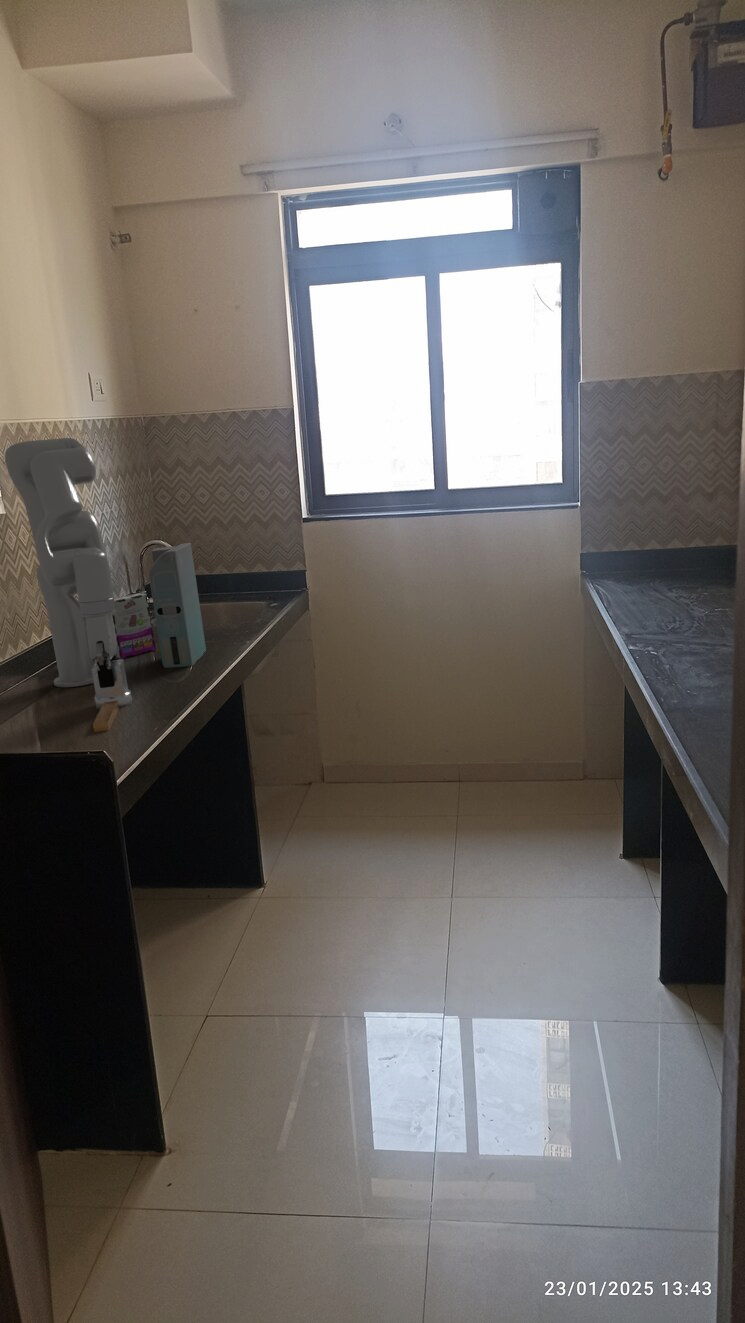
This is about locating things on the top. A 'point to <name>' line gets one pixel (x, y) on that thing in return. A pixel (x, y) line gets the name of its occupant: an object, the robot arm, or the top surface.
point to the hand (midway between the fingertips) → (110, 681)
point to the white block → (119, 681)
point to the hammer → (109, 710)
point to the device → (176, 606)
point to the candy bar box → (133, 626)
